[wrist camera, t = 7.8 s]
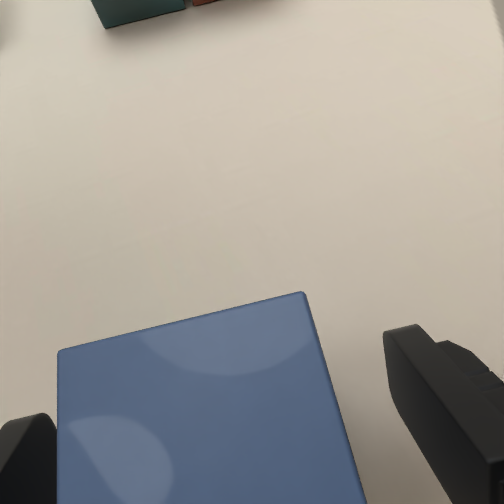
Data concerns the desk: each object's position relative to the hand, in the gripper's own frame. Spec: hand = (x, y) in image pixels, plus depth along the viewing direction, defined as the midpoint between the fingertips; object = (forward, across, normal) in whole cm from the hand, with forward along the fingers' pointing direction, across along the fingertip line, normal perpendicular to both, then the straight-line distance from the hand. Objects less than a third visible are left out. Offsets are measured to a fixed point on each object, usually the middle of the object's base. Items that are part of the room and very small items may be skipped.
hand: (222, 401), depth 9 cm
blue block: (+3, 0, +4) cm, 5 cm away
